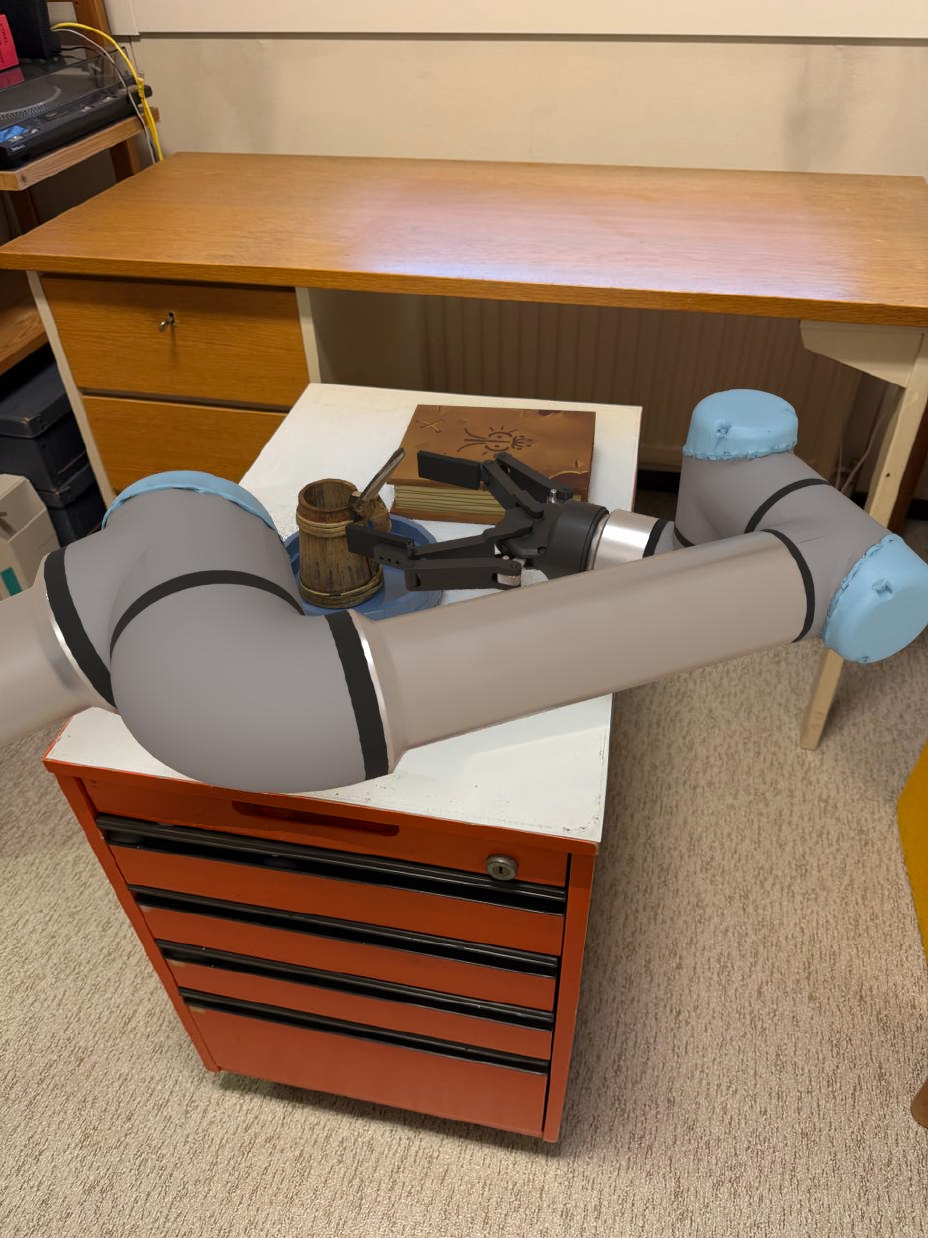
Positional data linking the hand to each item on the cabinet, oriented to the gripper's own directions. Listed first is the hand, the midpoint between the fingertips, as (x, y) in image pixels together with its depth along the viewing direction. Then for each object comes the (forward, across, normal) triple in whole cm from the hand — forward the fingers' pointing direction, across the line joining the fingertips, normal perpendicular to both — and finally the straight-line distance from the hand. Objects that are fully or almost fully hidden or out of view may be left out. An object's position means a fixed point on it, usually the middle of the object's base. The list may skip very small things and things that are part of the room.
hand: (385, 498), depth 83 cm
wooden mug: (+5, 0, -13) cm, 14 cm away
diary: (0, +26, -14) cm, 30 cm away
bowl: (+5, 0, -14) cm, 14 cm away
